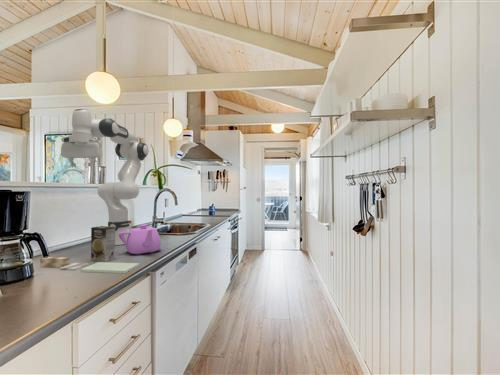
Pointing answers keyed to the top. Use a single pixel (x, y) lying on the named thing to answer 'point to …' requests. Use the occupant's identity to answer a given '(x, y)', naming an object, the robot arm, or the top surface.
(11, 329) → the top surface
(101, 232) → the coffee box
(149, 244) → the teapot
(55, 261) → the turner
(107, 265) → the board
